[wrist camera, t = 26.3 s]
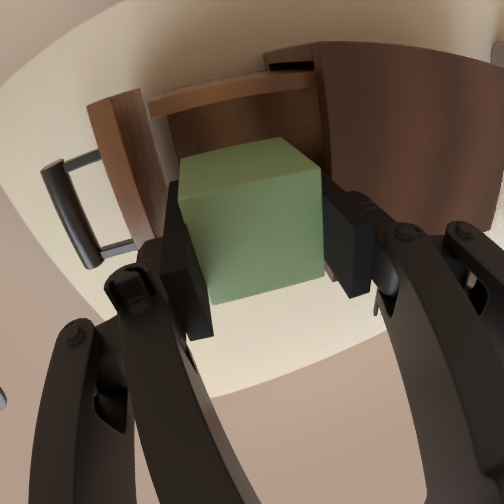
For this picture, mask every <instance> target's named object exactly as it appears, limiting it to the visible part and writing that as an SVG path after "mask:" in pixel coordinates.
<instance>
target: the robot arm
mask: <svg viewBox="0 0 504 504" xmlns="http://www.w3.org/2000/svg"><path fill="white" fill-rule="evenodd" d="M321 181H322V214H323V245H324V260H325V261H326V263H327V264H328V266H329V267H330V269H331V270H332V272H333V274H334V275H335V277H336V278H337V280H338V281H339V283H340V285H341V286H342V288H343V289H344V291H345V293H346V294H347V296H348V297H349V299H351V298H354V297H357V296H360V295H363V294H366V293H369V292H370V286H371V279H372V280H373V281H374V283H375V284H376V285H377V293H376V299H375V304H374V310H373V313H374V316H377V312H378V307H379V308H380V311H381V315H382V316H383V319H384V322H385V325H386V328H387V331H388V334H389V337H390V340H391V343H392V346H393V349H394V353H395V355H396V359H397V362H398V366H399V369H400V372H401V376H402V379H403V383H404V386H405V390H406V394H407V397H408V401H409V405H410V409H411V413H412V417H413V421H414V426H415V430H416V434H417V439H418V444H419V448H420V454H421V459H422V464H423V470H424V475H425V481H426V488H427V498H426V500H425V503H424V504H504V250H502V249H501V248H500V247H499V246H498V245H497V244H496V243H494V242H493V241H492V240H491V239H490V238H488V237H487V236H486V235H485V234H484V233H482V232H481V231H480V230H479V229H477V228H476V227H475V226H473V225H471V224H469V223H467V222H465V221H451V222H450V223H448V224H447V226H446V230H445V235H427V234H426V233H425V232H424V231H423V230H422V229H421V228H420V227H418V226H416V225H414V224H411V223H406V222H396V221H395V220H394V219H393V218H392V217H391V216H390V215H389V214H387V213H386V212H385V211H384V210H383V209H382V208H381V207H380V208H379V206H378V205H377V204H376V203H375V202H373V201H372V200H371V199H370V198H369V197H368V196H366V195H365V194H362V193H360V192H358V191H355V190H353V191H348V192H345V191H344V190H343V189H342V188H341V187H340V186H339V185H337V184H336V183H335V182H334V181H333V180H332V179H330V178H329V177H328V176H327V175H326V174H325V173H323V172H322V171H321ZM178 188H179V180H176V181H173V182H169V189H168V197H167V204H166V212H165V220H164V229H163V236H162V237H158V238H154V239H151V240H147V241H145V242H144V243H143V245H142V246H141V247H140V249H139V250H138V255H137V261H136V263H132V264H129V265H125V266H123V267H121V268H119V269H118V270H116V271H115V272H114V273H113V274H111V275H110V276H109V278H108V279H107V280H106V282H105V285H104V291H105V292H106V294H107V296H108V298H109V299H110V301H111V302H112V304H113V306H114V307H115V309H116V311H117V315H116V316H115V317H113V318H111V319H109V320H107V321H105V322H104V323H101V324H99V325H97V326H94V325H93V323H92V322H91V320H88V319H87V318H79V319H76V320H73V321H71V322H70V323H68V324H67V325H66V326H65V327H64V328H63V329H62V330H61V331H60V333H59V335H58V337H57V339H56V343H55V346H54V350H53V353H52V357H51V360H50V364H49V368H48V372H47V375H46V379H45V384H44V388H43V392H42V397H41V401H40V406H39V411H38V417H37V423H36V429H35V435H34V442H33V449H32V458H31V469H30V481H29V503H28V504H137V501H136V485H135V457H134V420H135V421H136V426H137V429H138V434H139V438H140V441H141V445H142V449H143V452H144V456H145V459H146V463H147V466H148V469H149V472H150V476H151V479H152V482H153V485H154V488H155V491H156V493H157V496H158V499H159V502H160V504H261V502H260V500H259V499H258V497H257V495H256V493H255V491H254V490H253V488H252V486H251V484H250V482H249V480H248V478H247V476H246V475H245V473H244V471H243V469H242V467H241V465H240V463H239V461H238V459H237V457H236V455H235V453H234V451H233V449H232V446H231V444H230V442H229V440H228V438H227V436H226V434H225V432H224V430H223V427H222V425H221V423H220V421H219V418H218V416H217V414H216V412H215V409H214V407H213V405H212V403H211V400H210V398H209V396H208V393H207V391H206V388H205V386H204V384H203V381H202V379H201V376H200V374H199V371H198V369H197V366H196V364H195V361H194V359H193V356H192V353H191V351H190V349H189V348H188V346H187V344H186V333H187V335H188V337H189V339H190V341H194V340H199V339H203V338H208V337H212V336H214V333H213V326H212V319H211V312H210V305H209V297H208V290H207V286H206V283H205V280H204V277H203V274H202V271H201V268H200V265H199V262H198V259H197V256H196V253H195V250H194V247H193V244H192V241H191V238H190V235H189V232H188V228H187V225H186V224H185V223H184V220H183V217H182V213H181V210H180V207H179V204H178ZM471 272H472V273H473V274H474V275H475V276H476V278H477V280H476V282H475V285H474V287H473V288H471V287H470V286H469V285H468V284H467V283H468V280H469V278H470V275H471Z"/></svg>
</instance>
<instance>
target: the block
mask: <svg viewBox="0 0 504 504" xmlns="http://www.w3.org/2000/svg"><path fill="white" fill-rule="evenodd" d="M178 204H179V207H180V210H181V213H182V217H183V220H184V223H185V224H186V225H187V228H188V232H189V235H190V238H191V241H192V244H193V247H194V250H195V253H196V256H197V259H198V262H199V265H200V268H201V271H202V274H203V277H204V280H205V283H206V286H207V290H208V295H209V298H210V301H211V303H212V305H217V304H221V303H225V302H229V301H233V300H237V299H241V298H245V297H249V296H253V295H257V294H261V293H264V292H268V291H272V290H276V289H280V288H283V287H287V286H291V285H295V284H298V283H302V282H306V281H309V280H313V279H316V278H320V277H323V276H324V245H323V214H322V181H321V168H320V167H319V166H318V165H316V164H315V163H314V162H313V161H311V160H310V159H309V158H308V157H306V156H305V155H304V154H302V153H301V152H300V151H299V150H297V149H296V148H295V147H293V146H292V145H291V144H289V143H288V142H287V141H285V140H284V139H283V138H281V137H276V138H270V139H265V140H260V141H255V142H250V143H245V144H240V145H235V146H231V147H226V148H222V149H217V150H213V151H209V152H205V153H201V154H197V155H193V156H189V157H185V158H182V159H181V161H180V174H179V188H178Z"/></svg>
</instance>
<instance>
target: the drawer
mask: <svg viewBox="0 0 504 504" xmlns="http://www.w3.org/2000/svg"><path fill="white" fill-rule="evenodd" d="M147 104H148V108H149V112H150V116H151V119H155V118H158V117H162V116H165V115H167V119H168V123H169V127H170V131H171V135H172V139H173V143H174V146H175V150H176V154H177V158H178V161H179V165H180V161H181V159H182V158H185V157H189V156H193V155H197V154H201V153H205V152H209V151H213V150H217V149H222V148H226V147H231V146H235V145H240V144H245V143H250V142H255V141H260V140H265V139H270V138H276V137H281V138H283V139H284V140H285V141H287V142H288V143H289V144H291V145H292V146H293V147H295V148H296V149H297V150H299V151H300V152H301V153H302V154H304V155H305V156H306V157H308V158H309V159H310V160H311V161H313V162H314V163H315V164H316V165H318V166H319V167H320V168H321V171H322V172H323V173H324V159H323V145H322V133H321V121H320V111H319V101H318V92H317V84H316V75H315V68H314V67H304V68H292V69H282V70H273V71H265V72H258V73H251V74H245V75H239V76H233V77H228V78H222V79H217V80H212V81H208V82H203V83H198V84H194V85H190V86H186V87H182V88H178V89H174V90H170V91H167V92H163V93H162V94H160V95H158V96H157V97H155V98H154V99H152V100H151V101H149V102H148V103H147ZM86 108H87V112H88V115H89V119H90V122H91V125H92V129H93V132H94V135H95V139H96V142H97V145H98V148H97V149H95V150H92V151H90V152H87V153H85V154H82V155H80V156H77V157H75V158H72V159H70V160H67V161H66V162H65V161H64V159H59V160H57V161H54V162H52V163H51V164H49V165H47V166H45V167H44V168H43V169H42V170H41V171H40V173H41V175H42V178H43V180H44V183H45V185H46V188H47V190H48V193H49V195H50V197H51V200H52V202H53V204H54V207H55V209H56V211H57V213H58V215H59V218H60V220H61V222H62V224H63V226H64V228H65V230H66V232H67V234H68V236H69V238H70V240H71V242H72V244H73V246H74V248H75V250H76V252H77V254H78V256H79V258H80V260H81V261H82V263H83V265H84V267H85V268H86V269H94V268H96V267H98V266H99V265H101V264H102V263H103V261H104V260H105V258H109V257H112V256H116V255H119V254H123V253H127V252H130V251H134V250H139V249H140V247H141V246H142V245H143V243H144V242H145V241H147V240H151V239H154V238H158V237H162V236H163V229H164V220H165V212H166V204H167V197H168V188H167V185H166V182H165V178H164V175H163V172H162V168H161V165H160V161H159V158H158V154H157V151H156V147H155V144H154V140H153V136H152V133H151V129H150V125H149V122H148V118H147V114H146V110H145V106H144V102H143V98H142V94H141V90H140V88H137V89H134V90H130V91H127V92H123V93H120V94H117V95H114V96H111V97H108V98H105V99H103V100H100V101H98V102H95V103H93V104H90V105H88V106H87V107H86ZM99 160H103V163H104V166H105V169H106V172H107V174H108V177H109V180H110V183H111V186H112V188H113V191H114V194H115V196H116V199H117V202H118V204H119V207H120V209H121V212H122V214H123V217H124V219H125V222H126V224H127V227H128V229H129V232H130V234H131V236H132V238H131V239H128V240H124V241H121V242H117V243H114V244H110V245H107V246H104V247H102V248H101V247H100V245H99V243H98V240H97V238H96V236H95V234H94V232H93V230H92V228H91V225H90V223H89V221H88V219H87V216H86V214H85V212H84V209H83V207H82V205H81V202H80V200H79V198H78V195H77V193H76V190H75V188H74V185H73V183H72V180H71V177H70V175H69V172H70V171H73V170H75V169H78V168H80V167H83V166H86V165H88V164H91V163H93V162H96V161H99Z"/></svg>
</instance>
